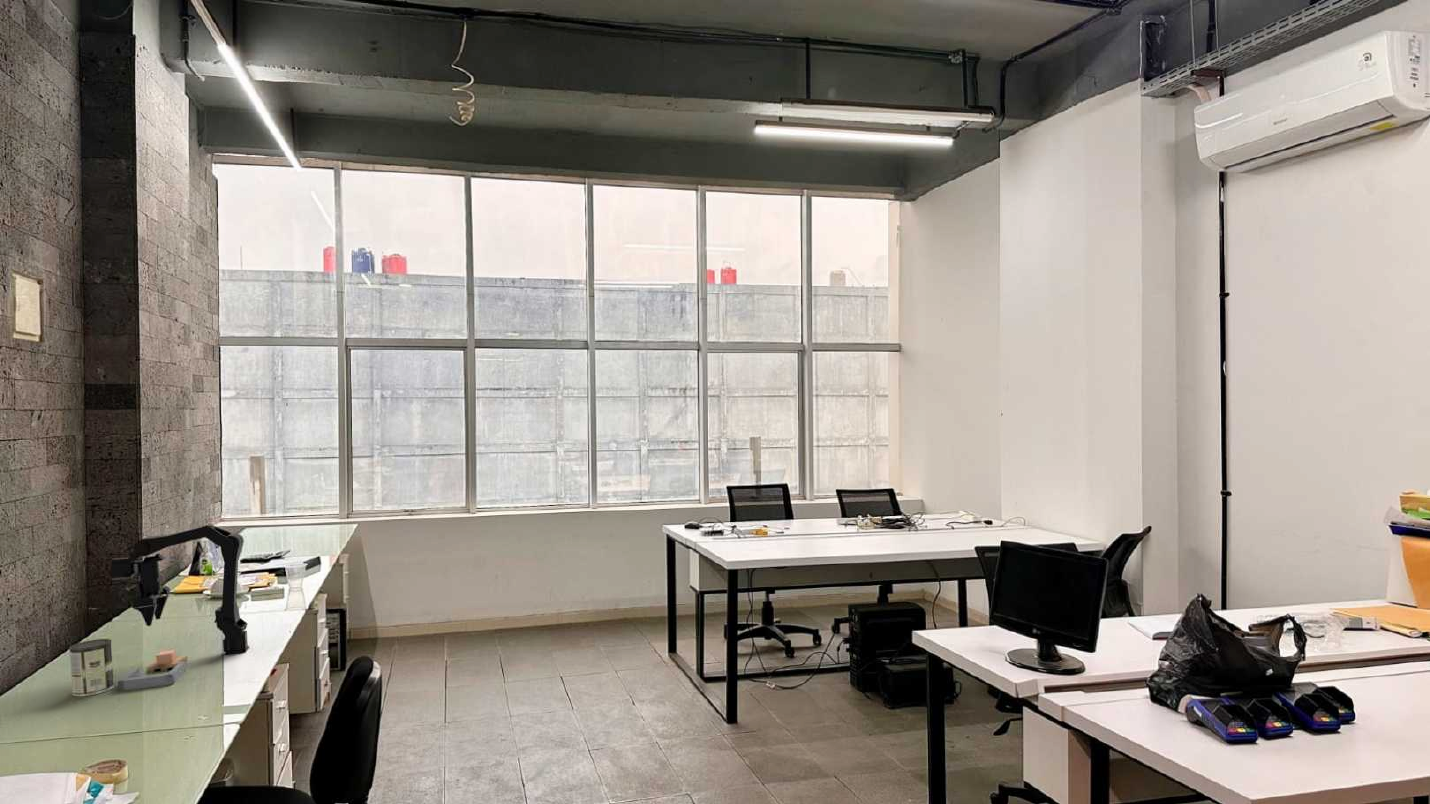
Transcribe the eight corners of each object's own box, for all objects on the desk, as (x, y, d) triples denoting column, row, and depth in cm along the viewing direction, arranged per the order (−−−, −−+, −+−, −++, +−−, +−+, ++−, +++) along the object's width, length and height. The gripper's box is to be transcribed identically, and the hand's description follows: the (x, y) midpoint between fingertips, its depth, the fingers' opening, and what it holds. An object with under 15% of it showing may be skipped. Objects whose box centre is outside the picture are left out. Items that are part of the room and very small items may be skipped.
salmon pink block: (176, 658, 283) (176, 649, 282) (172, 662, 278) (172, 653, 278) (161, 660, 281) (160, 651, 281) (156, 664, 277) (156, 655, 277)
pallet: (187, 661, 286) (187, 655, 286) (179, 669, 278) (179, 663, 278) (156, 665, 284) (156, 658, 284) (147, 674, 275) (147, 667, 275)
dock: (185, 670, 275) (185, 661, 275) (173, 684, 262) (172, 674, 262) (134, 677, 271) (133, 667, 271) (118, 691, 258) (117, 681, 258)
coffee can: (98, 683, 266) (95, 637, 266) (122, 685, 263) (119, 639, 263) (63, 695, 257) (60, 647, 257) (88, 697, 253) (85, 649, 253)
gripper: (130, 573, 293) (135, 619, 294) (110, 584, 276) (115, 633, 276) (168, 568, 297) (172, 614, 297) (150, 579, 279) (155, 627, 279)
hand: (153, 622), depth 287 cm, fingers open, 9 cm apart
